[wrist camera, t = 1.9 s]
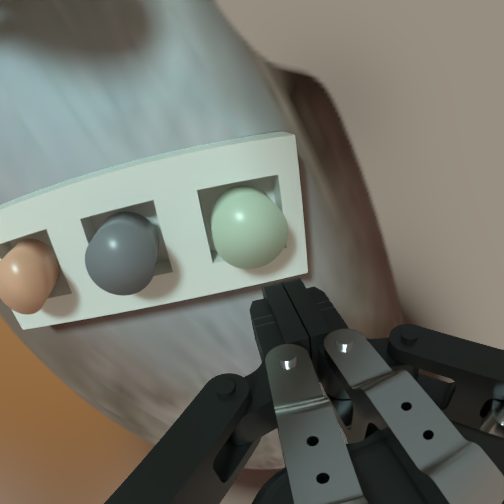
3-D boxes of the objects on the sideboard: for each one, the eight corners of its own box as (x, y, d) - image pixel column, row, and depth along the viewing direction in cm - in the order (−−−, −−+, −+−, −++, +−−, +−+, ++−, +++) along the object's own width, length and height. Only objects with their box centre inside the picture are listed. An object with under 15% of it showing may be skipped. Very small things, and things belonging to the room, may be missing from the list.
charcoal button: (89, 220, 20) (75, 238, 17) (149, 204, 20) (143, 221, 17) (109, 276, 21) (99, 301, 19) (166, 264, 22) (163, 288, 19)
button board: (-9, 208, 19) (-27, 221, 17) (281, 131, 22) (294, 134, 19) (34, 309, 24) (22, 329, 21) (295, 255, 26) (308, 272, 24)
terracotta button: (4, 245, 19) (-16, 265, 16) (47, 232, 19) (28, 251, 16) (25, 294, 21) (10, 318, 18) (68, 285, 21) (54, 309, 18)
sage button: (203, 192, 20) (206, 207, 17) (270, 179, 21) (283, 191, 18) (216, 253, 22) (221, 275, 19) (278, 240, 23) (291, 260, 20)
